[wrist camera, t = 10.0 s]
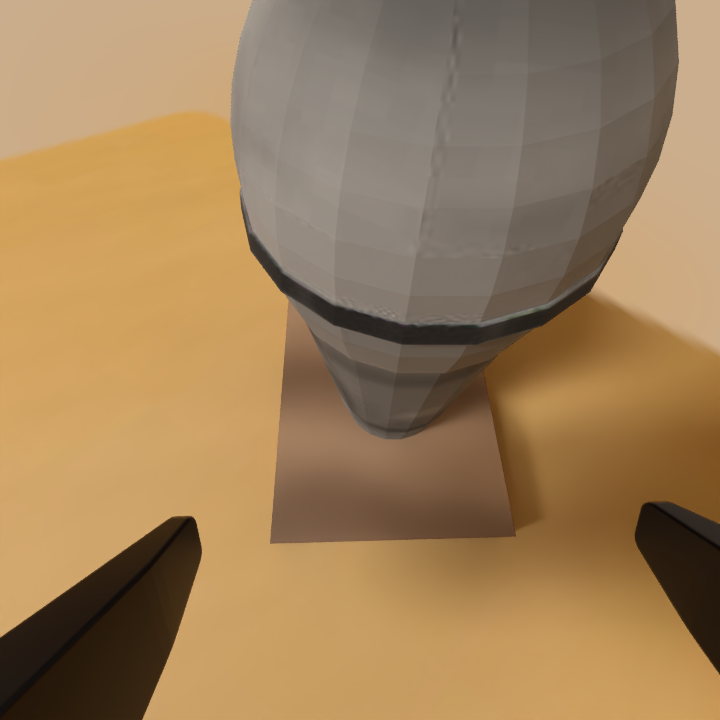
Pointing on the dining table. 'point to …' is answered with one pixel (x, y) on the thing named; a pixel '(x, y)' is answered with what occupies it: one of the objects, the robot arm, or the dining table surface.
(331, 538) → the walnut board
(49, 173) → the dining table surface
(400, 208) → the beverage cup
